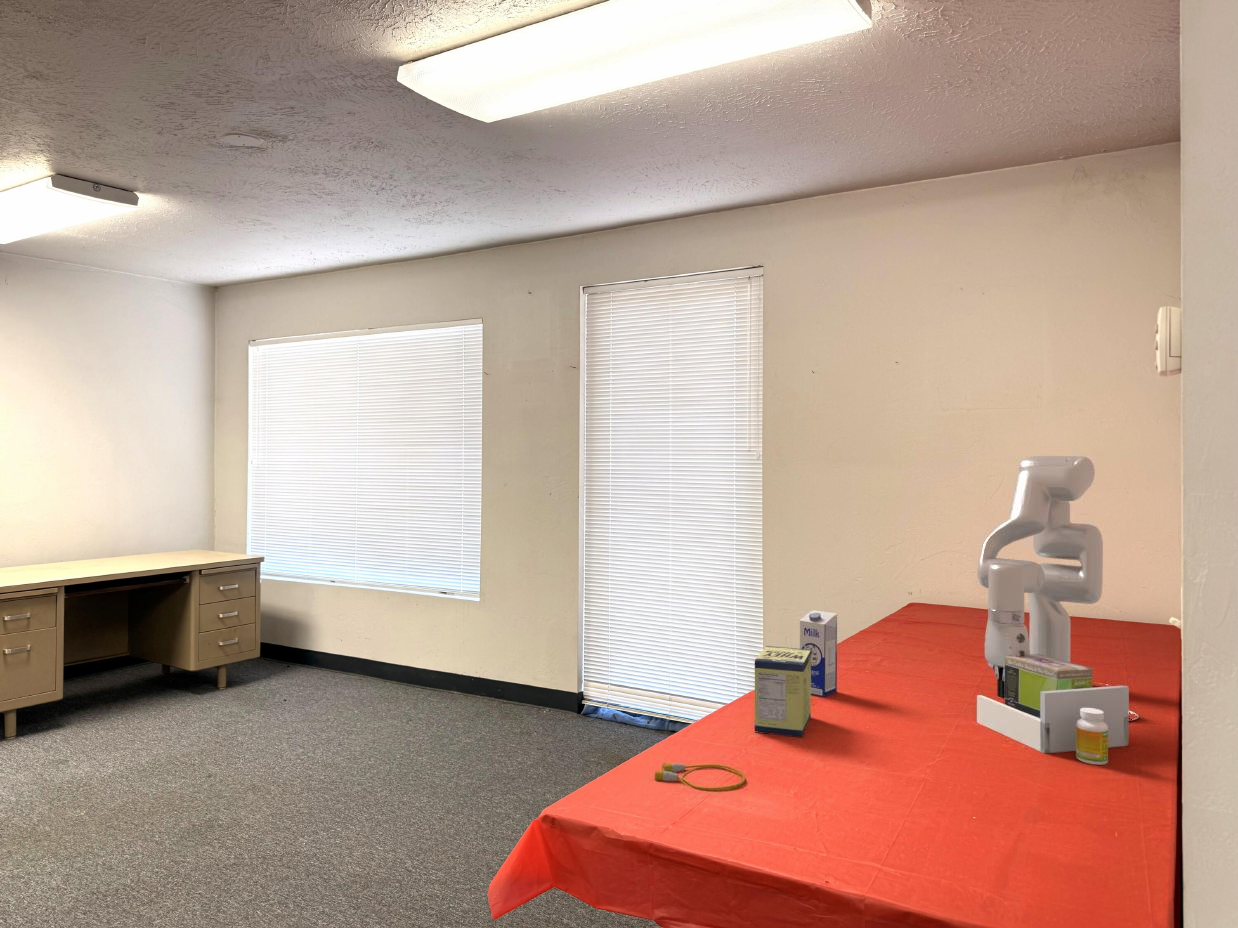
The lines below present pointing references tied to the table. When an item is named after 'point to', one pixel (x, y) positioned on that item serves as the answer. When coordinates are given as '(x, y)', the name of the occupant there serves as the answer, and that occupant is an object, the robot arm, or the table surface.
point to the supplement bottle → (1092, 737)
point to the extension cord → (674, 767)
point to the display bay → (1059, 717)
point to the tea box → (1040, 680)
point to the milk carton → (821, 650)
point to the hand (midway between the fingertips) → (1005, 696)
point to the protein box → (783, 691)
